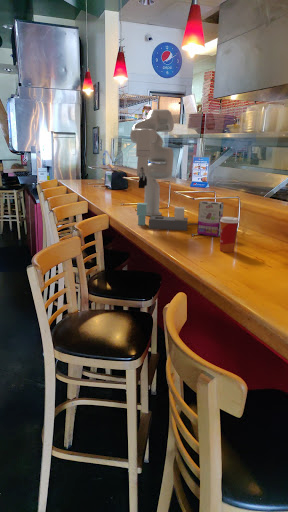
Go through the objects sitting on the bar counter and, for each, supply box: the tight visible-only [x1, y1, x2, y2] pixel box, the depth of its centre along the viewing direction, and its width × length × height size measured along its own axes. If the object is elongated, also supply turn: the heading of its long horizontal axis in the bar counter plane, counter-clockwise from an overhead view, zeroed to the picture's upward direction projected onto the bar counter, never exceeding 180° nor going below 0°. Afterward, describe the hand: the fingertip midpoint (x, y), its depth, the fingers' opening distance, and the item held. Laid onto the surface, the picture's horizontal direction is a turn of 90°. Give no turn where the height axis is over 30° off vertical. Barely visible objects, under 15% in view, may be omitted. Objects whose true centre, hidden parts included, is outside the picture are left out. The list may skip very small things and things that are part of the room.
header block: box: [148, 206, 189, 231], centre depth 195 cm, size 10×20×11 cm, turn 83°
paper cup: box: [219, 216, 240, 254], centre depth 153 cm, size 8×8×14 cm
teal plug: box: [136, 202, 147, 226], centre depth 202 cm, size 5×5×12 cm
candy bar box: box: [197, 200, 224, 238], centre depth 181 cm, size 11×5×16 cm, turn 62°
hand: (142, 186), depth 198 cm, fingers open, 9 cm apart
